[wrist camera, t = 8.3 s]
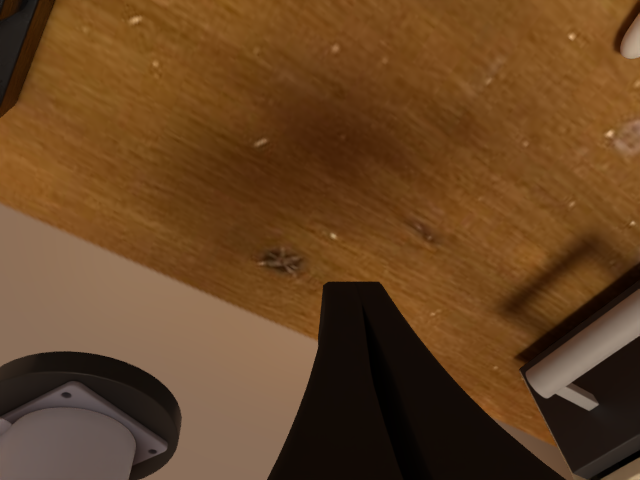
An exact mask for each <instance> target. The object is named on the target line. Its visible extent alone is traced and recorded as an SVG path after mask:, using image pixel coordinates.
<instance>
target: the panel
mask: <svg viewBox="0 0 640 480" xmlns="http://www.w3.org/2000/svg"><path fill="white" fill-rule="evenodd" d="M54 1H55V0H0V118H1V117H2V116H3V115H4V114H5V113H6V112H8V111H9V110H10V109H11V108H12V107H13V106H15V104H16V101H17V99H18V96H19V94H20V91H21V88H22V86H23V83H24V80H25V78H26V75H27V72H28V70H29V67H30V64H31V62H32V59H33V56H34V54H35V51H36V49H37V46H38V43H39V41H40V38H41V35H42V33H43V30H44V27H45V25H46V22H47V19H48V17H49V14H50V11H51V9H52V6H53V4H54Z"/></svg>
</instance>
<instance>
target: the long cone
mask: <svg viewBox="0 0 640 480" xmlns="http://www.w3.org/2000/svg"><path fill="white" fill-rule="evenodd" d="M620 51H621V54H622V56H623V57H625V58H627V59H634V58H638V57H640V13H639V14H638V16H637V17H636V19H635V20H634V21H633V23H632V24H631V26H630V27H629V29H628V30H627V32H626V34H625V36H624V38H623V40H622V42H621V46H620Z"/></svg>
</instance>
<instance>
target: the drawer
mask: <svg viewBox="0 0 640 480" xmlns="http://www.w3.org/2000/svg"><path fill="white" fill-rule="evenodd" d="M520 371H521V373H522V375H523V377H524V379H525V381H526V383H527V385H528V387H529V389H530V391H531V393H532V395H533V397H534V399H535V401H536V403H537V405H538V407H539V409H540V411H541V413H542V414H543V416H544V418H545V420H546V422H547V424H548V426H549V428H550V430H551V432H552V434H553V436H554V438H555V440H556V442H557V444H558V446H559V448H560V450H561V452H562V454H563V456H564V457H565V459H566V461H567V463H568V465H569V467H570V469H571V471H572V473H573V474H575V475H578V476H580V477H582V478H585V479H589V478H591V477H593V476H595V475H597V474H598V473H600V472H602V471H604V470H605V472H606V474H607V475H609V474H611V473H612V472H614V471H616V470H618V469H619V468H621V467H623V466H625V465H627V464H628V463H630V462H632V461H634V460H635V459H637V458H639V457H640V280H639V281H637V282H636V283H635V284H633V285H632V286H631V287H629V288H628V289H626V290H625V291H624V292H622V293H621V294H620V295H618V296H617V297H616V298H614V299H613V300H612V301H610V302H609V303H608V304H606V305H605V306H604V307H602V308H601V309H600V310H598V311H597V312H595V313H594V314H593V315H591V316H590V317H589V318H587V319H586V320H585V321H583V322H582V323H581V324H579V325H578V326H577V327H575V328H574V329H573V330H571V331H570V332H569V333H567V334H566V335H565V336H563V337H562V338H560V339H559V340H558V341H556V342H555V343H554V344H552V345H551V346H550V347H548V348H547V349H546V350H544V351H543V352H542V353H540V354H539V355H538V356H536V357H535V358H534V359H532V360H531V361H529V362H528V363H527V364H525V365H524V366H523V367H521V368H520Z"/></svg>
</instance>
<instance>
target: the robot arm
mask: <svg viewBox="0 0 640 480" xmlns="http://www.w3.org/2000/svg"><path fill="white" fill-rule="evenodd" d="M167 446H168V443H167V442H166V441H165V440H164V439H162V438H161V437H160V436H158V435H157V434H155V433H154V432H152V431H151V430H149V429H148V428H146V427H145V426H144V425H142V424H141V423H139V422H138V421H136V420H135V419H133V418H132V417H130V416H129V415H128V414H126V413H125V412H123V411H122V410H120V409H119V408H117V407H116V406H114V405H113V404H111V403H110V402H109V401H107V400H106V399H104V398H103V397H101V396H100V395H98V394H97V393H95V392H94V391H93V390H91V389H90V388H88V387H87V386H85V385H84V384H82V383H81V382H79V381H70V382H67V383H65V384H63V385H61V386H59V387H57V388H55V389H53V390H51V391H49V392H47V393H46V394H44V395H42V396H40V397H38V398H36V399H34V400H32V401H30V402H28V403H26V404H24V405H22V406H20V407H18V408H16V409H14V410H12V411H10V412H8V413H6V414H4V415H2V416H0V480H129V476H130V472H131V467H132V466H133V465H135V464H137V463H140V462H142V461H144V460H147V459H149V458H151V457H154V456H156V455H158V454H160V453H163V452H165V451H166V450H167ZM267 480H566V479H564V478H563V477H562V476H560V475H559V474H558V473H556V472H555V471H554V470H552V469H551V468H550V467H549V466H547V465H546V464H545V463H543V462H542V461H541V460H540V459H538V458H537V457H536V456H535V455H534V454H532V453H531V452H530V451H529V450H528V449H526V448H525V447H524V446H523V445H521V444H520V443H519V442H518V441H517V440H516V439H515V438H513V437H512V436H511V435H510V434H509V433H507V432H506V431H505V430H504V429H503V428H502V427H501V426H499V425H498V424H497V423H496V422H495V421H494V420H493V419H492V418H491V417H490V416H489V415H488V414H487V413H486V412H485V411H484V410H483V409H482V408H481V407H480V406H479V405H478V404H477V403H476V402H475V401H474V400H472V399H471V398H470V396H469V395H468V394H467V393H466V392H465V391H464V390H463V389H462V388H461V387H460V386H459V385H458V384H457V383H456V382H455V380H454V379H453V378H452V377H451V376H450V375H449V374H448V373H447V371H446V370H445V369H444V368H443V367H442V366H441V364H440V363H439V362H438V361H437V360H436V359H435V357H434V356H433V355H432V354H431V352H430V351H429V350H428V349H427V347H426V346H425V345H424V343H423V342H422V341H421V340H420V338H419V337H418V336H417V334H416V333H415V332H414V331H413V329H412V328H411V327H410V325H409V324H408V322H407V321H406V320H405V318H404V317H403V315H402V314H401V313H400V311H399V310H398V308H397V307H396V305H395V304H394V302H393V301H392V299H391V298H390V296H389V295H388V293H387V292H386V290H385V289H384V287H383V286H382V285H381V284H380V282H327V283H326V284H325V285H323V294H322V304H321V314H320V324H319V334H318V350H317V354H316V357H315V361H314V364H313V368H312V371H311V375H310V378H309V382H308V385H307V388H306V391H305V393H304V396H303V399H302V402H301V404H300V407H299V410H298V412H297V415H296V417H295V420H294V422H293V425H292V427H291V429H290V432H289V434H288V436H287V439H286V441H285V443H284V446H283V448H282V450H281V452H280V454H279V457H278V459H277V461H276V463H275V465H274V467H273V469H272V471H271V473H270V475H269V477H268V479H267Z"/></svg>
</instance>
